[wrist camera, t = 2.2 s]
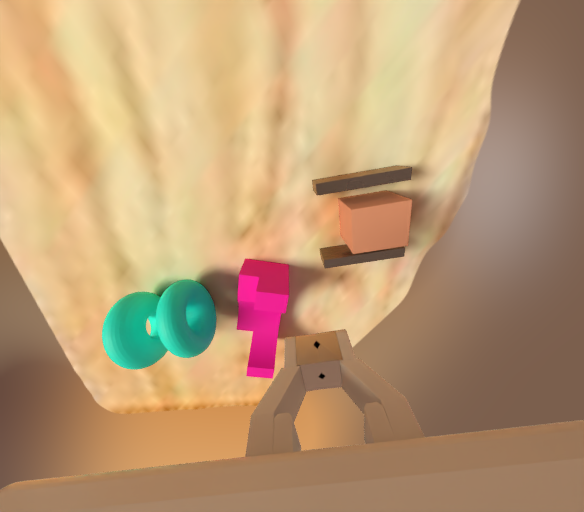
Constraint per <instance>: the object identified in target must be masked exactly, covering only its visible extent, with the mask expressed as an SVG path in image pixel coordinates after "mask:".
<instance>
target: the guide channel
mask: <svg viewBox="0 0 584 512" xmlns="http://www.w3.org/2000/svg"><path fill="white" fill-rule="evenodd" d="M411 174H412V167H404V166H391V167H385V168H379V169H373V170H368V171H362V172H356V173H350V174H345V175H339V176H333V177H327V178H322V179H316V180H312V184H313V191H314V192H315V193H316V195H323V194H329V193H335V192H341V191H346V190H352V189H358V188H364V187H370V186H376V185H382V184H388V183H394V182H399V181H405V180H411ZM404 253H405V247H403V246H402V247H396V248H390V249H383V250H377V251H370V252H364V253H357V254H353V253H352V252H351V250H350V249H349V247H348V246H347V245H340V246H334V247H327V248H321V249H320V255H321V259H322V262H323V265H324V268H331V267H337V266H344V265H351V264H357V263H364V262H370V261H377V260H384V259H390V258H397V257H403V256H404Z"/></svg>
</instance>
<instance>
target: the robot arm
mask: <svg viewBox="0 0 584 512" xmlns="http://www.w3.org/2000/svg"><path fill="white" fill-rule="evenodd" d="M336 387H342V388H343V389H344V390H345V392H346V393H347V394H348V395H349V397H350V398H351V399H352V400H353V401H354V403H355V404H356V405H357V406H358V407H359V409H360V410H361V411H362V412H363V414H364V433H365V434H364V436H365V437H364V438H365V439H364V440H365V443H366V444H359V445H350V446H341V447H332V448H323V449H313V450H304V451H301V445H300V442H299V439H298V435H297V432H296V429H295V425H294V421H295V418H296V416H297V413H298V411H299V408H300V406H301V404H302V401H303V399H304V396H305V394H306V391H312V390H318V389H326V388H336ZM0 512H584V420H579V421H571V422H561V423H552V424H543V425H534V426H524V427H515V428H507V429H497V430H488V431H480V432H471V433H461V434H452V435H442V436H433V437H425V436H424V434H423V432H422V430H421V428H420V426H419V424H418V422H417V420H416V418H415V416H414V414H413V412H412V410H411V408H410V406H409V404H408V401H407V399H406V398H405V397H404V396H403V395H402V394H401V393H399V392H398V391H397V390H396V389H395V388H394V387H392V386H391V385H390V384H389V383H388V382H386V381H385V380H384V379H383V378H382V377H381V376H379V375H378V374H377V373H376V372H375V371H373V370H372V369H371V368H370V367H369V366H368V365H366V364H365V363H364V362H363V361H362V360H361V359H359V358H355V355H354V352H353V349H352V346H351V343H350V340H349V337H348V334H347V331H346V330H345V329H344V330H337V331H329V332H323V333H316V334H310V335H301V336H293V337H285V368H281V370H280V371H279V373H278V375H277V376H276V378H275V379H274V381H273V382H272V384H271V385H270V387H269V389H268V390H267V392H266V393H265V395H264V396H263V398H262V400H261V401H260V403H259V404H258V406H257V407H256V409H255V411H254V412H253V414H252V415H251V420H250V428H249V435H248V442H247V449H246V456H245V457H241V458H232V459H222V460H213V461H205V462H195V463H186V464H177V465H168V466H158V467H149V468H140V469H131V470H122V471H113V472H104V473H95V474H85V475H76V476H67V477H58V478H49V479H39V480H29V481H21V482H16V483H12V484H10V485H8V486H6V487H4V488H3V489H1V490H0Z"/></svg>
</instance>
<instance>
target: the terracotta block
mask: <svg viewBox="0 0 584 512" xmlns="http://www.w3.org/2000/svg"><path fill="white" fill-rule="evenodd" d="M338 203H339V219H340V235H341V237H342V238H343V240H344V241H345V243H346V244H347V246H348V247H349V249H350V250H351V252H352V253H353V254H357V253H364V252H370V251H377V250H383V249H390V248H396V247H402V246H408V240H409V229H410V218H411V208H412V200H411V199H409V198H406V197H403V196H401V195H398V194H395V193H392V192H390V191H387V190H385V191H379V192H373V193H367V194H361V195H356V196H350V197H344V198H338Z"/></svg>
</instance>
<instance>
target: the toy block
mask: <svg viewBox="0 0 584 512" xmlns="http://www.w3.org/2000/svg"><path fill="white" fill-rule="evenodd" d="M288 298H289V265H288V264H281V263H273V262H266V261H259V260H251V259H245V261H244V263H243V266H242V268H241V271H240V273H239V283H238V298H237V301H238V305H239V311H238V322H237V330H246V331H253V337H252V343H251V349H250V355H249V361H248V367H247V376H251V377H263V378H273V373H274V366H275V355H276V345H277V337H278V330H279V324H280V318H281V313H286V308H287V303H288Z"/></svg>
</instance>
